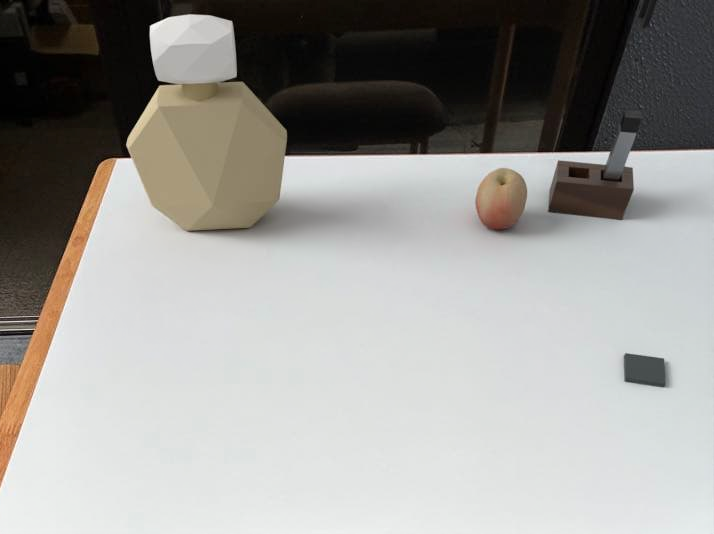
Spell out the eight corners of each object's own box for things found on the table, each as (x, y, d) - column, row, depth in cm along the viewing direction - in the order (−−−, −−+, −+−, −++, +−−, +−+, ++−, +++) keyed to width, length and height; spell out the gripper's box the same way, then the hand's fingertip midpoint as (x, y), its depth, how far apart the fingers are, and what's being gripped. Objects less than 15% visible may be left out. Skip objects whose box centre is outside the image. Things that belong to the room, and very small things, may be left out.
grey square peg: (607, 203, 109) (641, 111, 97) (607, 211, 108) (642, 118, 96) (592, 201, 109) (624, 109, 97) (592, 209, 108) (625, 117, 96)
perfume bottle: (291, 236, 105) (282, 28, 82) (143, 243, 105) (91, 36, 82) (289, 196, 112) (280, -7, 89) (150, 203, 112) (103, 0, 89)
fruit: (464, 231, 105) (473, 181, 99) (479, 206, 109) (489, 156, 102) (513, 242, 103) (525, 192, 97) (526, 216, 107) (539, 166, 100)
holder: (549, 190, 111) (558, 160, 107) (621, 197, 110) (632, 167, 105) (547, 211, 108) (556, 181, 104) (621, 219, 106) (634, 189, 102)
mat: (662, 361, 87) (664, 358, 87) (664, 387, 85) (666, 383, 84) (623, 356, 88) (625, 352, 88) (624, 381, 85) (626, 378, 85)
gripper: (677, -156, 70) (617, 35, 84) (846, -156, 69) (756, 37, 83) (663, -172, 74) (608, 12, 88) (822, -173, 73) (740, 15, 87)
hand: (680, 24), depth 86 cm, fingers open, 9 cm apart
